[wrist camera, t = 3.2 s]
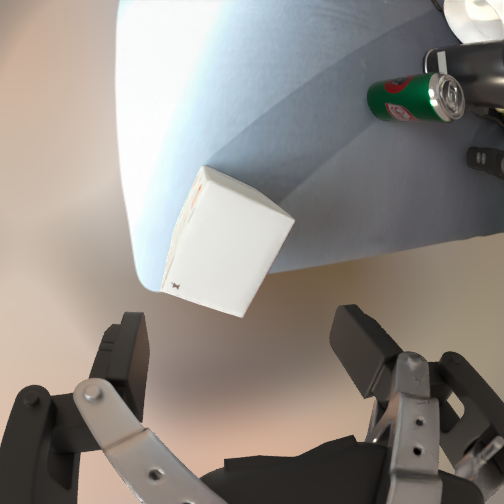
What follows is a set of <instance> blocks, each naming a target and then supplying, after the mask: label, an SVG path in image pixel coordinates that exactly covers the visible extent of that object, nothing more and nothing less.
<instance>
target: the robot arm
mask: <svg viewBox="0 0 504 504" xmlns="http://www.w3.org/2000/svg"><path fill="white" fill-rule="evenodd" d="M423 71H424V73H431V72H442V73H444V74H447V75H450V76H452V77H454V78H455V79H456V80H457V81H458V83H459V84H460V86H461V88H462V90H463V93H464V98H465V107H468V108H469V109H470V110H471V112H472V113H474V114H478V117H480V118H485V119H491V120H494V121H497V122H498V123H499V124H500V125H501V126H502V127H503V128H504V123H503V122H502V121H501V120H500V119H498V118H497V117H495V116H491V115H488V109H489V108H497V109H504V39H500V40H489V41H480V42H472V43H466V44H459V45H453V46H447V47H442V48H434V49H430V50H428V51H427V52H426V54H425V56H424V59H423ZM330 345H331V347H332V349H333V351H334V352H335V354H336V355H337V357H338V358H339V360H340V361H341V363H342V365H343V366H344V368H345V369H346V371H347V373H348V374H349V376H350V377H351V379H352V381H353V382H354V384H355V385H356V387H357V388H358V390H359V391H360V393H361V395H362V396H363V398H364V399H366V398H369V397H372V396H375V397H376V400H375V402H374V405H373V410H372V415H371V419H370V424H369V429H368V433H367V436H366V439H365V442H357V441H356V439H355V437H354V435H350V436H347V437H343V438H340V439H336V440H333V441H329V442H326V443H323V444H322V445H320V446H318V447H316V448H314V449H312V450H310V451H308V452H305V453H303V454H301V455H299V456H296V457H279V456H261V455H258V456H250V457H241V458H231V459H224V467H223V468H219V469H216V470H214V471H212V472H209V473H207V474H206V475H204V476H202V477H201V478H198V477H197V476H195V475H194V474H193V473H192V472H191V471H190V470H189V469H188V468H187V467H186V466H185V465H184V464H183V463H182V462H181V461H180V460H179V459H178V458H177V457H176V456H175V455H174V454H173V453H172V452H171V451H170V450H169V449H168V448H167V447H166V446H165V445H164V443H163V442H162V441H161V440H160V439H159V438H158V437H157V436H156V435H155V434H154V432H152V431H151V430H150V429H149V428H144V427H143V426H142V425H141V423H142V420H143V409H144V398H145V388H146V380H147V372H148V364H149V355H150V352H149V351H150V350H149V341H148V335H147V329H146V322H145V316H144V313H143V312H125V313H124V315H123V318H122V321H121V324H120V325H119V324H112V325H111V326H110V327H109V328H108V329H107V330H106V331H105V332H104V335H103V338H102V340H101V344H100V346H99V351H98V352H97V355H96V357H95V360H94V364H93V366H92V370H91V373H90V376H89V379H87V380H84V381H82V382H81V383H79V384H78V385H77V387H76V388H75V390H74V392H73V393H69V394H62V395H55V396H51V395H50V394H49V392H48V391H47V390H46V389H45V388H44V387H42V386H38V385H30V386H27V387H25V388H24V389H22V390H21V391H20V392H19V393H18V395H17V397H16V399H15V402H14V405H13V408H12V410H11V413H10V416H9V420H8V422H7V426H6V429H5V432H4V435H3V439H2V442H1V446H0V504H77V495H78V477H79V464H80V455H81V452H87V451H94V450H102V451H103V453H104V454H105V456H106V457H107V459H108V460H109V462H110V463H111V464H112V466H113V467H114V469H115V470H116V471H117V473H118V474H119V475H120V477H121V478H122V479H123V481H124V482H125V483H126V485H127V486H128V487H129V488H130V490H131V491H132V492H133V493H134V495H135V496H136V497H137V498H138V499H139V501H140V502H141V503H142V504H485V501H487V500H488V499H489V498H490V497H491V496H492V495H493V494H495V493H496V492H497V491H498V490H500V489H501V488H502V487H503V486H504V403H503V401H502V400H501V399H500V398H499V397H498V395H497V394H496V393H495V392H494V391H493V389H491V387H490V386H489V385H488V384H487V383H486V381H485V380H484V379H483V378H482V377H481V376H480V375H479V373H478V372H477V371H476V370H475V369H474V368H473V367H472V366H471V365H470V364H469V363H468V361H467V360H466V359H465V358H464V357H463V356H461V355H460V354H458V353H456V352H451V351H449V352H445V353H444V354H443V355H442V357H441V359H440V361H439V362H427V361H426V360H425V358H424V357H422V356H421V355H419V354H417V353H415V352H409V351H407V352H404V351H403V350H402V349H401V348H400V347H399V346H398V345H397V343H396V342H395V341H394V340H393V339H392V338H391V337H390V336H389V335H388V334H386V331H385V330H384V329H383V328H381V326H380V325H379V324H378V323H377V321H376V320H374V319H373V318H371V317H369V316H368V315H366V314H364V313H363V312H362V310H360V308H359V307H358V306H357V305H355V304H352V305H342V306H339V307H338V308H337V310H336V313H335V317H334V321H333V325H332V329H331V332H330ZM452 392H454V393H455V394H456V396H457V397H458V398H459V400H460V401H461V402H462V403H463V405H464V408H465V411H464V415H463V416H462V417H461V419H460V418H459V417H458V415H457V414H456V412H455V411H454V410H453V408H452V407H451V406H450V404H449V403H448V402H447V399H448V398H449V396H450V395H451V394H452ZM140 422H141V423H140ZM439 445H440V446H441V448H442V449H443V451H444V453H445V454H446V456H447V458H448V459H449V461H450V462H451V464H452V466H453V468H454V469H455V474H454V475H453V474H450V473H447V472H444V471H441V470H439V469H438V463H439Z"/></svg>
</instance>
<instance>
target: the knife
mask: <svg viewBox="0 0 504 504" xmlns="http://www.w3.org/2000/svg"><path fill="white" fill-rule="evenodd" d="M432 2H433V4H434V5H435V7H436V8H437V9H438V10H440V11H442V8H441V7H440V6H439V4H438V3H437V1H436V0H432Z"/></svg>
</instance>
